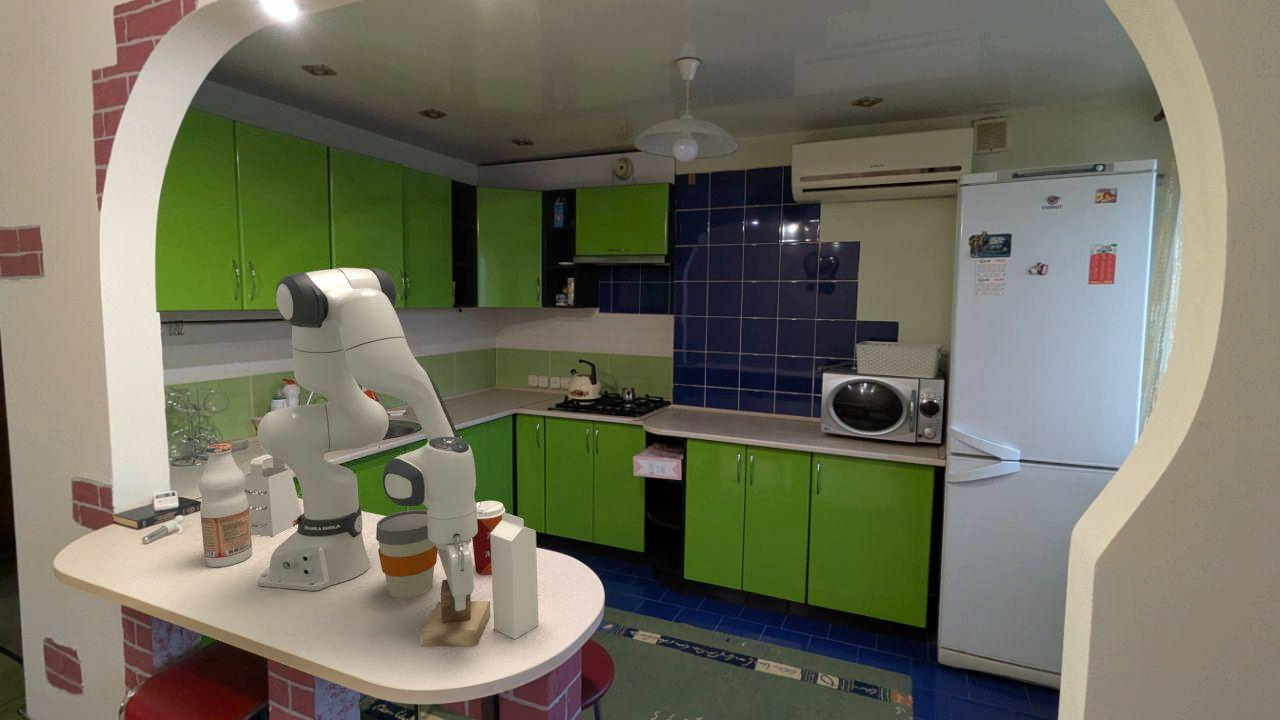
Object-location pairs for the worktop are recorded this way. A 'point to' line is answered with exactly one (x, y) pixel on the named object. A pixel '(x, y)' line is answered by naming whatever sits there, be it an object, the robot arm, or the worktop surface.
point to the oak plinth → (456, 627)
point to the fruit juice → (224, 509)
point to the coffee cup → (485, 534)
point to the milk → (514, 577)
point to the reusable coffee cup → (406, 553)
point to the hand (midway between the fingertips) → (455, 596)
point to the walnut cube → (448, 606)
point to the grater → (271, 497)
